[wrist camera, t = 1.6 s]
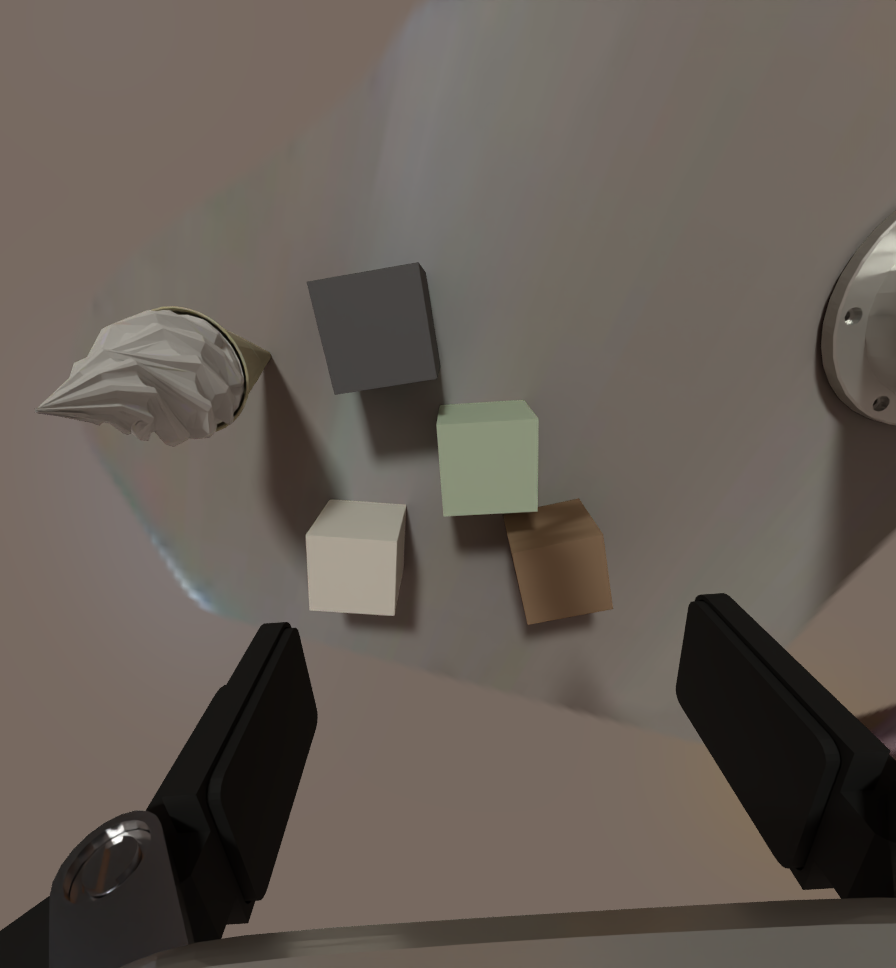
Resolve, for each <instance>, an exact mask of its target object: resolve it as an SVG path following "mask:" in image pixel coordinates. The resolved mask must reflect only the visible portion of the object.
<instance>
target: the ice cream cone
mask: <svg viewBox="0 0 896 968" xmlns="http://www.w3.org/2000/svg"><path fill="white" fill-rule="evenodd" d="M270 358H271V354H270V353H269V352H268V351H266V350H264V349H262V348H260V347H258V346H256V345H255V344H253V343H251V342H249V341H247V340H245V339H243V338H241V337H240V336H238V335H236V334H234V333H232V332H230V331H228V330H226V329H224V328H222V327H221V326H220V325H219V324H218V323H216V322H215V321H213V320H212V319H211V318H209V317H207V316H205V315H203V314H201V313H199V312H197V311H194V310H191V309H188V308H184V307H176V306H169V307H160V308H157V309H153V310H147V311H144V312H142V313H139V314H137V315H134V316H131V317H128V318H126V319H123V320H121V321H119V322H116V323H114V324H112V325H109V326H107V327H105V328H102V330H101V332H100V334H99V336H98V338H97V339H96V341H95V343H94V345H93V347H92V349H91V351H90V353H89V354H88V356H87V358H84V359H82V360H80V361H77V362H75V363H74V365H73V368H72V371H71V375H70V378H69V379H68V380H66V381H65V382H64V384H62V385H61V386H60V387H59V388H58V389H57V390H56V391H55V392H54V393H53V394H52V395H51V396H50V397H49V398H48V399H47V400H46V401H45V402H43V403H42V404H41V405H40V406H39V407H38V408H36V410H35V412H36V413H39V414H47V415H54V416H60V417H65V418H70V419H75V420H80V421H85V422H90V423H94V424H96V425H99V426H100V425H101V424H102V423H103V422H105V423H110V424H111V425H113V426H114V427H115V428H117V429H118V430H120V431H121V432H122V433H124V434H127V435H129V434H131V433H133V434H134V435H135V436H136V437H137V438H139V439H140V440H144V441H148V440H149V437H150V434H151V433H152V432H154V431H155V433H156V434H157V435H158V436H159V437H160V439H161V440H162V441H163V442H164V443H165V444H166V445H169V446H172V447H175V446H176V445H178V444H180V443H182V442H184V441H186V440H188V439H189V438H190V439H201V438H210V437H211V436H212V435H213V434H214V432H217V431H219V430H221V429H223V428H226V427H227V426H228V425H230V424H231V423H233V422H234V420H235V419H236V418H237V417H238V416H239V415H240V413H241V412H242V410H243V408H244V406H245V403H246V400H247V398H248V394H249V392H250V391H251V389H252V387H253V386H254V384H255V383H256V382H257V380H258V378H259V376H260V375H261V373H262V371H263V370H264V368H265V366H266V365H267V363H268V361H269V360H270Z"/></svg>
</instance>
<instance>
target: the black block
mask: <svg viewBox="0 0 896 968" xmlns="http://www.w3.org/2000/svg"><path fill="white" fill-rule="evenodd" d="M307 285H308V289H309V293H310V297H311V301H312V306H313V310H314V314H315V318H316V322H317V326H318V330H319V334H320V338H321V342H322V346H323V350H324V354H325V358H326V362H327V366H328V370H329V374H330V378H331V382H332V386H333V390H334V394H335V395H336V394H343V393H349V392H356V391H362V390H368V389H375V388H381V387H388V386H394V385H401V384H407V383H414V382H420V381H426V380H433V379H437V377H438V373H439V370H440V361H439V355H438V348H437V342H436V335H435V329H434V323H433V316H432V310H431V303H430V297H429V291H428V284H427V278H426V272H425V271H424V269H423V268H422V267H421V265H420V264H419V263H418V262H417V263H412V264H406V265H400V266H394V267H389V268H383V269H377V270H372V271H366V272H360V273H355V274H349V275H343V276H337V277H332V278H326V279H320V280H315V281H309V282H307Z"/></svg>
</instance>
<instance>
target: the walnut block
mask: <svg viewBox="0 0 896 968" xmlns="http://www.w3.org/2000/svg"><path fill="white" fill-rule="evenodd" d="M503 518H504V523H505V527H506V532H507V536H508V541H509V545H510V550H511V554H512V559H513V563H514V568H515V572H516V577H517V581H518V585H519V589H520V594H521V598H522V602H523V607H524V611H525V615H526V619H527V624H528V625H530V624H535V623H541V622H546V621H551V620H557V619H562V618H567V617H573V616H578V615H583V614H589V613H594V612H599V611H605V610H610V609H613V606H612V598H611V591H610V583H609V575H608V568H607V560H606V553H605V545H604V538H603V534H602V532H601V531H600V529H599V528H598V526H597V525H596V523H595V522H594V520H593V519H592V517H591V516H590V514H589V513H588V511H587V510H586V508H585V507H584V505H583V504H582V502H581V501H580V499H574V500H569V501H565V502H560V503H555V504H551V505H546V506H541V507H538V511H537V512H518V513H509V514H504V515H503Z"/></svg>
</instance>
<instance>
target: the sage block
mask: <svg viewBox="0 0 896 968" xmlns="http://www.w3.org/2000/svg"><path fill="white" fill-rule="evenodd" d="M436 426H437V439H438V452H439V465H440V478H441V490H442V503H443V516H462V515H480V514H499V513H518V512H537V511H538V418H537V416H536V415H535V414H534V412H533V411H532V410H531V409H530V407H529V406H528V405H527V403H526V402H525V401H524V400H514V401H498V402H483V403H467V404H451V405H440V407H439V413H438V419H437V424H436Z"/></svg>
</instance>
